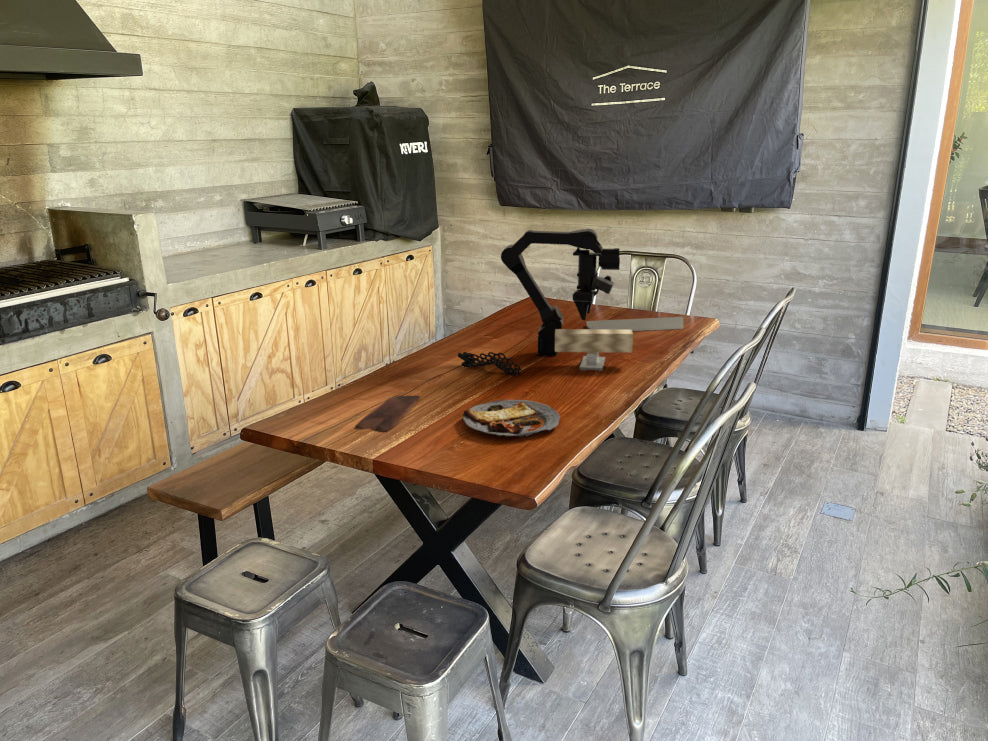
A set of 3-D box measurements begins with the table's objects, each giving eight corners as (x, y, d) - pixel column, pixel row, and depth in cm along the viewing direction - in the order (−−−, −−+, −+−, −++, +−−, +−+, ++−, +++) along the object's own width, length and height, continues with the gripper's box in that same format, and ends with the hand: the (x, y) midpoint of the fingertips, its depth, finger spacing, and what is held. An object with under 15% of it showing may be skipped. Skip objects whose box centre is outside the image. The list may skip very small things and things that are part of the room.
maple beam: (554, 351, 235) (555, 333, 233) (554, 347, 240) (555, 329, 238) (632, 352, 233) (633, 333, 231) (630, 347, 238) (631, 329, 236)
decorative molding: (586, 334, 284) (593, 333, 274) (586, 321, 284) (592, 320, 274) (674, 330, 287) (683, 329, 277) (673, 317, 287) (683, 316, 277)
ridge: (579, 370, 233) (579, 354, 232) (583, 358, 244) (584, 344, 243) (602, 371, 232) (602, 355, 230) (605, 359, 243) (605, 345, 241)
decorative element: (523, 373, 232) (523, 355, 230) (514, 378, 228) (514, 359, 226) (463, 363, 243) (463, 345, 242) (454, 367, 239) (453, 349, 238)
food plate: (483, 447, 179) (483, 434, 178) (449, 416, 199) (449, 403, 198) (575, 432, 188) (575, 419, 187) (533, 403, 209) (533, 391, 208)
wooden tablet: (392, 391, 215) (425, 389, 212) (394, 398, 216) (426, 397, 213) (351, 426, 191) (387, 425, 188) (353, 434, 192) (389, 433, 189)
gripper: (608, 275, 229) (607, 325, 234) (615, 265, 246) (613, 311, 251) (572, 274, 232) (571, 323, 237) (582, 263, 249) (580, 309, 254)
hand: (585, 316), depth 245 cm, fingers open, 9 cm apart
